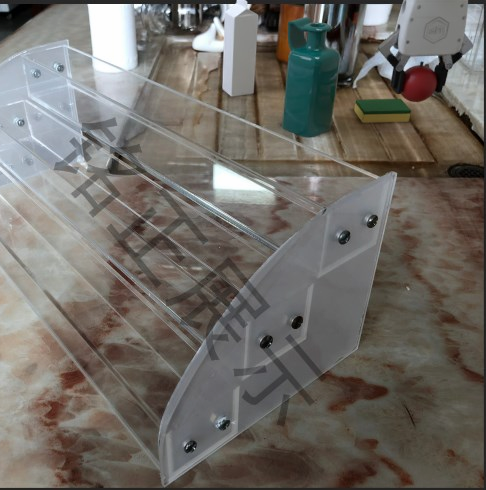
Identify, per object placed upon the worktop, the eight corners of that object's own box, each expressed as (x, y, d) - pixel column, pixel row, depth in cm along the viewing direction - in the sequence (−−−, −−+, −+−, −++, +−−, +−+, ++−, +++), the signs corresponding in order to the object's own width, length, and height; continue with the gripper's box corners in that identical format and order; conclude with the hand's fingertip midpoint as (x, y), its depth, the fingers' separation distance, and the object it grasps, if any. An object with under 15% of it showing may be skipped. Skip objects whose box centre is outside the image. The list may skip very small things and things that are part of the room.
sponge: (398, 111, 135) (400, 98, 133) (408, 123, 129) (411, 110, 128) (353, 112, 135) (355, 99, 134) (362, 124, 130) (364, 111, 128)
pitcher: (334, 129, 127) (349, 23, 115) (308, 140, 123) (321, 31, 111) (299, 116, 134) (310, 14, 122) (273, 127, 130) (281, 22, 117)
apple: (425, 94, 108) (433, 55, 104) (438, 106, 102) (447, 66, 99) (390, 95, 108) (397, 57, 104) (402, 107, 103) (410, 68, 99)
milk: (231, 98, 145) (234, 3, 132) (222, 90, 150) (224, -3, 137) (254, 95, 146) (259, 0, 134) (244, 87, 151) (248, -6, 138)
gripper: (391, -14, 91) (372, 100, 101) (505, -18, 91) (475, 96, 101) (376, -22, 97) (360, 85, 107) (483, -27, 97) (457, 82, 107)
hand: (416, 90), depth 104 cm, fingers closed on apple, 6 cm apart
